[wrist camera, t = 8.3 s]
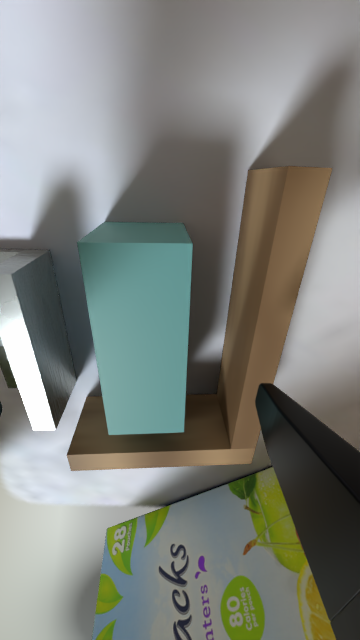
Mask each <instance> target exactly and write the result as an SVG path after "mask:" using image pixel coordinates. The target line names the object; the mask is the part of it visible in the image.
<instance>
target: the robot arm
mask: <svg viewBox="0 0 360 640" xmlns="http://www.w3.org/2000/svg"><path fill="white" fill-rule="evenodd" d="M255 406H256V410H257V414H258V418H259V422H260V426H261V430H262V434H263V438H264V442H265V446H266V449H267V452H268V455H269V458H270V460H271V463H272V466H273V468H274V471H275V474H276V477H277V479H278V482H279V485H280V488H281V490H282V493H283V496H284V498H285V501H286V504H287V507H288V509H289V512H290V515H291V517H292V520H293V523H294V526H295V528H296V531H297V534H298V537H299V539H300V542H301V545H302V547H303V550H304V553H305V556H306V558H307V561H308V564H309V567H310V569H311V572H312V575H313V577H314V580H315V583H316V586H317V588H318V591H319V594H320V597H321V599H322V602H323V605H324V607H325V610H326V613H327V616H328V618H329V620H330V621H331V622H330V624H331V627H332V630H333V632H334V635H335V638H336V640H360V452H359V451H358V450H357V449H355V448H354V447H353V446H352V445H350V444H349V443H348V442H346V441H345V440H344V439H343V438H341V437H340V436H339V435H337V434H336V433H335V432H334V431H332V430H331V429H330V428H329V427H327V426H326V425H325V424H323V423H322V422H321V421H320V420H318V419H317V418H316V417H314V416H313V415H312V414H311V413H309V412H308V411H307V410H305V409H304V408H303V407H302V406H300V405H299V404H298V403H297V402H295V401H294V400H293V399H291V398H290V397H289V396H288V395H286V394H285V393H284V392H282V391H281V390H280V389H279V388H277V387H276V386H275V385H273V384H272V383H261V384H260V385H259V387H258V391H257V395H256V399H255ZM1 413H2V404H1V402H0V415H1Z"/></svg>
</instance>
